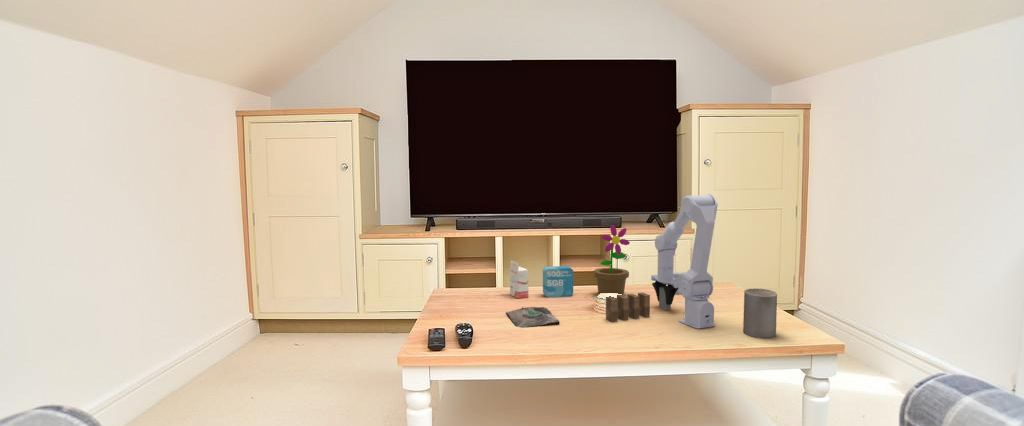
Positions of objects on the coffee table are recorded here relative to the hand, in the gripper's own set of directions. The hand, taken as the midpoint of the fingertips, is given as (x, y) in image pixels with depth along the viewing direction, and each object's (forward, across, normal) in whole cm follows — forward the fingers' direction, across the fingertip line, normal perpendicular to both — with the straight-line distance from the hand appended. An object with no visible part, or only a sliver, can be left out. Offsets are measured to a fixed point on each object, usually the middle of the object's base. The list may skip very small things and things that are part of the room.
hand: (664, 302), depth 205 cm
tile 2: (+2, -4, +12) cm, 13 cm away
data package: (+3, +35, +27) cm, 44 cm away
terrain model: (+3, +10, +51) cm, 52 cm away
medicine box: (+3, +17, -22) cm, 28 cm away
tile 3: (+2, -4, +17) cm, 18 cm away
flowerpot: (+3, +26, +7) cm, 27 cm away
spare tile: (+2, 0, 0) cm, 2 cm away
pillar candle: (+3, -36, -9) cm, 37 cm away
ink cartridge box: (+3, +41, +42) cm, 59 cm away
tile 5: (+2, -4, +26) cm, 26 cm away
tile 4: (+2, -4, +22) cm, 22 cm away
